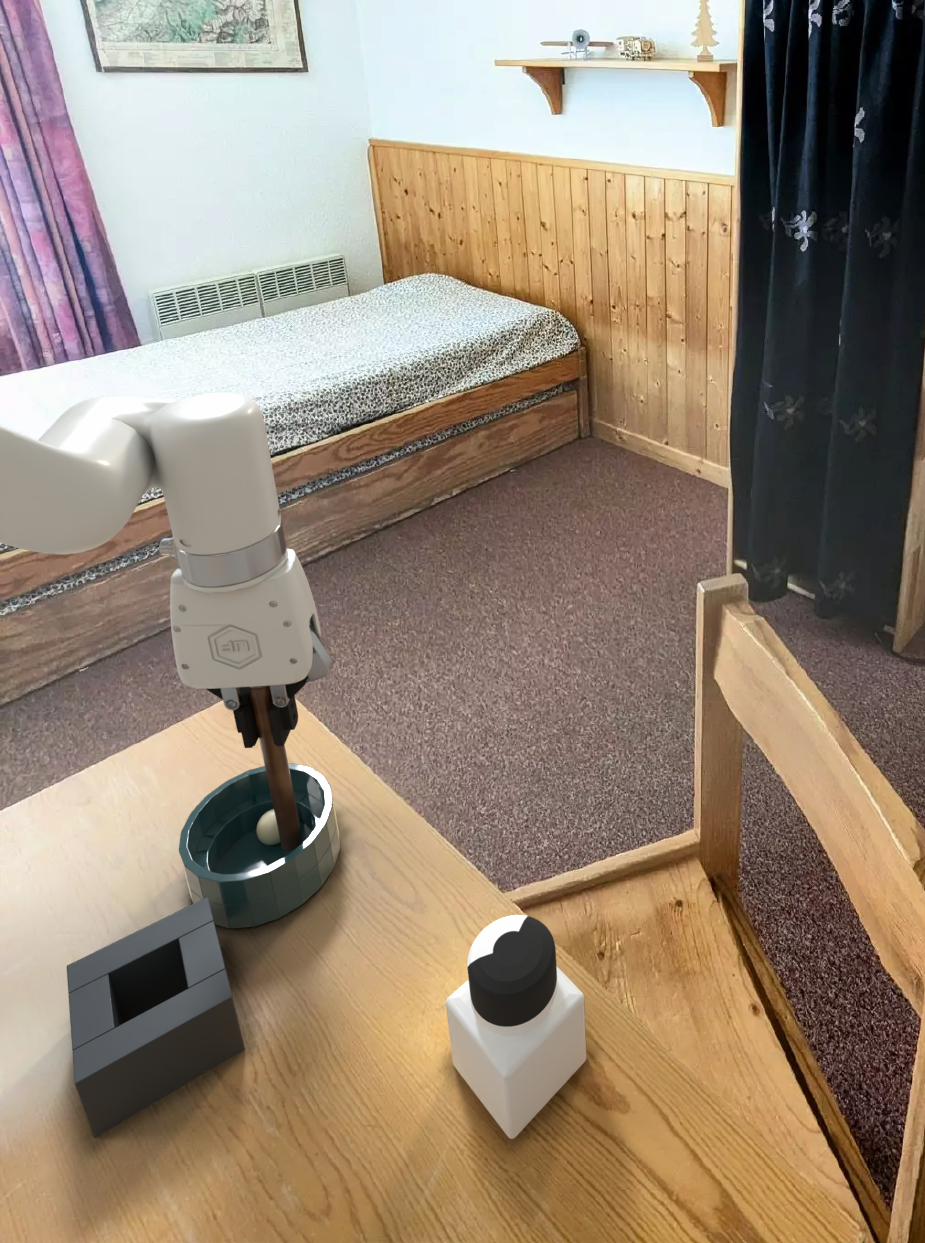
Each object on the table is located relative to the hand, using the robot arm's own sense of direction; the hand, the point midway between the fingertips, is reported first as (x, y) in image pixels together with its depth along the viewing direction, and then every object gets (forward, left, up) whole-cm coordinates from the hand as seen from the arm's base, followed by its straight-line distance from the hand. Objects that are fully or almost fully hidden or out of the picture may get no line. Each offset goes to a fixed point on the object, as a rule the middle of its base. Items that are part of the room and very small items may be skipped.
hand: (270, 733), depth 74 cm
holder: (-5, -14, -15) cm, 21 cm away
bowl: (-2, 0, -15) cm, 15 cm away
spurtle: (0, 0, -13) cm, 13 cm away
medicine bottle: (+22, -18, -15) cm, 32 cm away
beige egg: (-2, +2, -13) cm, 13 cm away
